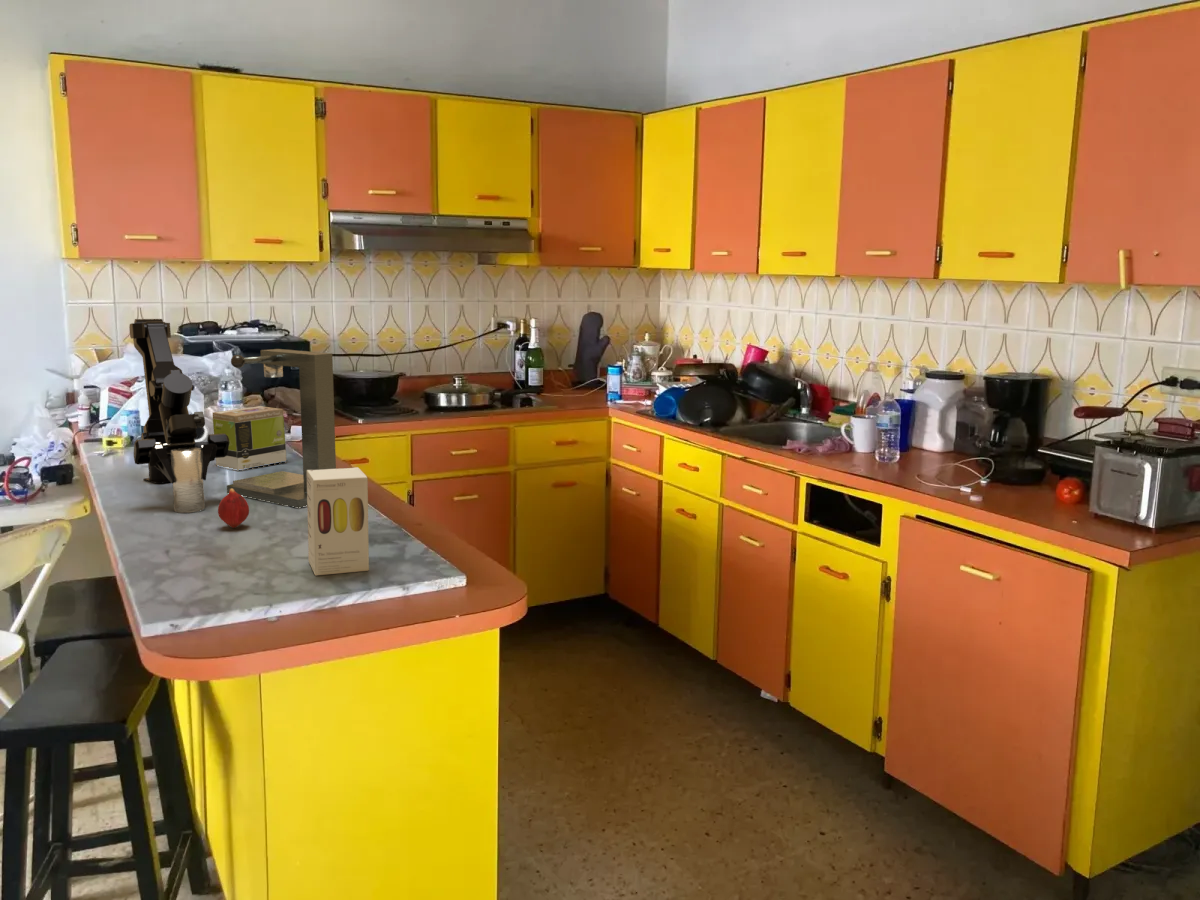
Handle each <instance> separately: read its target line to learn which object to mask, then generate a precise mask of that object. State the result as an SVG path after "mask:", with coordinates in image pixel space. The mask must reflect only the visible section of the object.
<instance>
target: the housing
mask: <svg viewBox="0 0 1200 900" xmlns="http://www.w3.org/2000/svg"><path fill="white" fill-rule="evenodd" d="M171 464H172V472H173V477H174V483H172V493H173V508H174V509H173V510H174V512H175V513H180V514H187V513H188V514H190V513H191V514H192V513H199V512H201V511H200V510H202V511H204V510H205V509H204V508H206V506H205V492H204V490H205V489H204V488H205V487H204V480H203V470H202V453H201V448H194V447H187V448H177V449H172V450H171ZM203 509H204V510H203Z"/></svg>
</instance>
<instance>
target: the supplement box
mask: <svg viewBox="0 0 1200 900" xmlns="http://www.w3.org/2000/svg"><path fill="white" fill-rule="evenodd" d="M368 485H369V484H368V477H367V475H366V474H365V473H364V472H363V471H362V469H360V468H359V467H358V466H357V467H349V468H347V467H346V468H336V469H323V470H307V507H306V508H307V509H306V510H307V511H306V512H307V539H308V540H307V547H308V559H307V560H308V563H309V565H310V567H311V569H312V571H313V573H314V575H315V576H325V575H335V574H336V575H337V574H345V573H346V574H347V573H356V572H368V571H369V570H370V556H369V553H370V551H369V550H370V549H369V548H370V547H369V492H368V489H369V487H368Z"/></svg>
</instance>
